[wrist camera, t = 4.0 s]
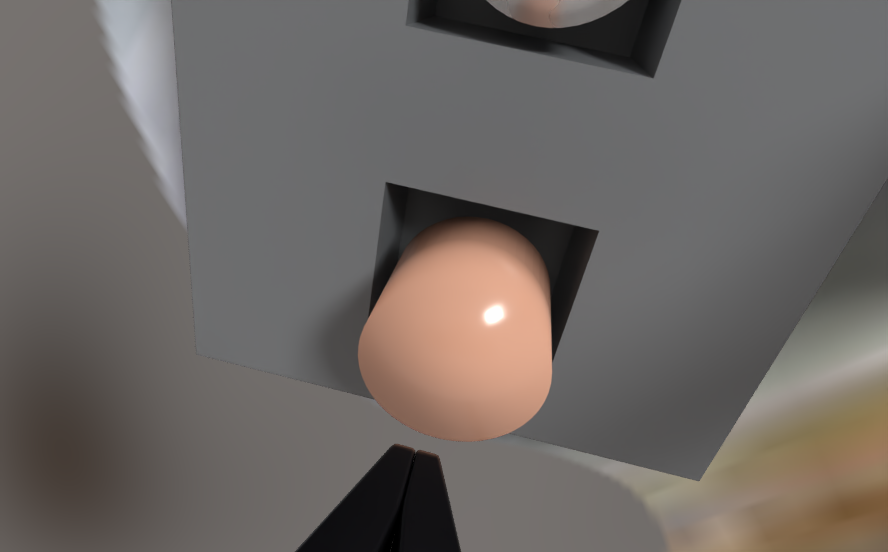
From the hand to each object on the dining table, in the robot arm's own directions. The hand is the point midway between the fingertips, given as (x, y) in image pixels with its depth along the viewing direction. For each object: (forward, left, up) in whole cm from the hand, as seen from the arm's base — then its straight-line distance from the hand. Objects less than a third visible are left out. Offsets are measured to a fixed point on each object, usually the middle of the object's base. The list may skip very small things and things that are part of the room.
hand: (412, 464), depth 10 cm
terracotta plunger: (0, +1, -8) cm, 8 cm away
